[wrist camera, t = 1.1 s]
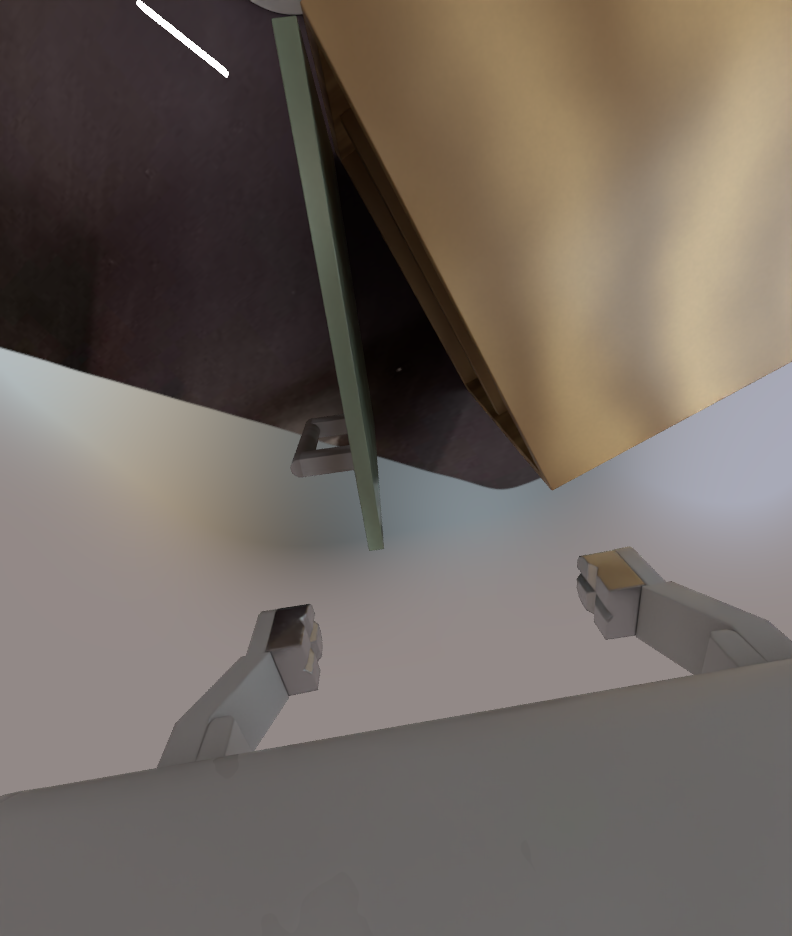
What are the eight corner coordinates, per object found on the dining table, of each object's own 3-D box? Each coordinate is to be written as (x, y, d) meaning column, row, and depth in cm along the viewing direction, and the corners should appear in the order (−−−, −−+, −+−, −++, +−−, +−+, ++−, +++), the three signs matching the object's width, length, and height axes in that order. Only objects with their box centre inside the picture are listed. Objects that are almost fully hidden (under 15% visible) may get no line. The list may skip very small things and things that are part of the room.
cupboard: (467, 389, 48) (551, 491, 27) (335, 151, 38) (298, 0, 16) (613, 300, 45) (844, 333, 23) (514, 12, 34) (770, -409, 13)
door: (317, 433, 49) (282, 563, 28) (258, 165, 37) (122, 36, 16) (374, 425, 49) (384, 549, 28) (333, 155, 38) (296, 14, 16)
